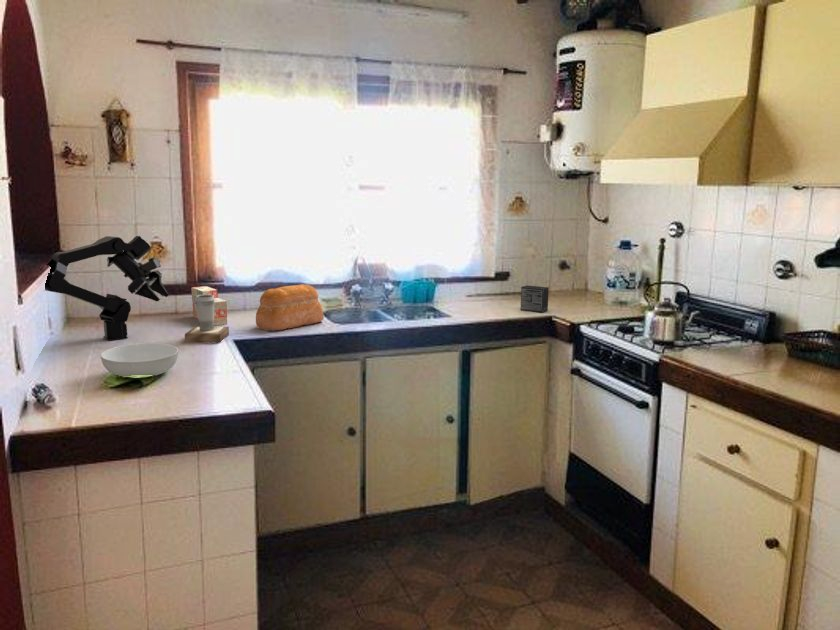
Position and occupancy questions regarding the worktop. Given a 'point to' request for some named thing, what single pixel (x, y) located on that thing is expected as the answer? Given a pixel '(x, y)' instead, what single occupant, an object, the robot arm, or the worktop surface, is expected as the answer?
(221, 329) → the plinth
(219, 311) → the stack of blocks
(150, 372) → the serving bowl
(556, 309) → the worktop surface
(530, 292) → the small box
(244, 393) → the worktop surface
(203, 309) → the cup
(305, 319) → the bread
